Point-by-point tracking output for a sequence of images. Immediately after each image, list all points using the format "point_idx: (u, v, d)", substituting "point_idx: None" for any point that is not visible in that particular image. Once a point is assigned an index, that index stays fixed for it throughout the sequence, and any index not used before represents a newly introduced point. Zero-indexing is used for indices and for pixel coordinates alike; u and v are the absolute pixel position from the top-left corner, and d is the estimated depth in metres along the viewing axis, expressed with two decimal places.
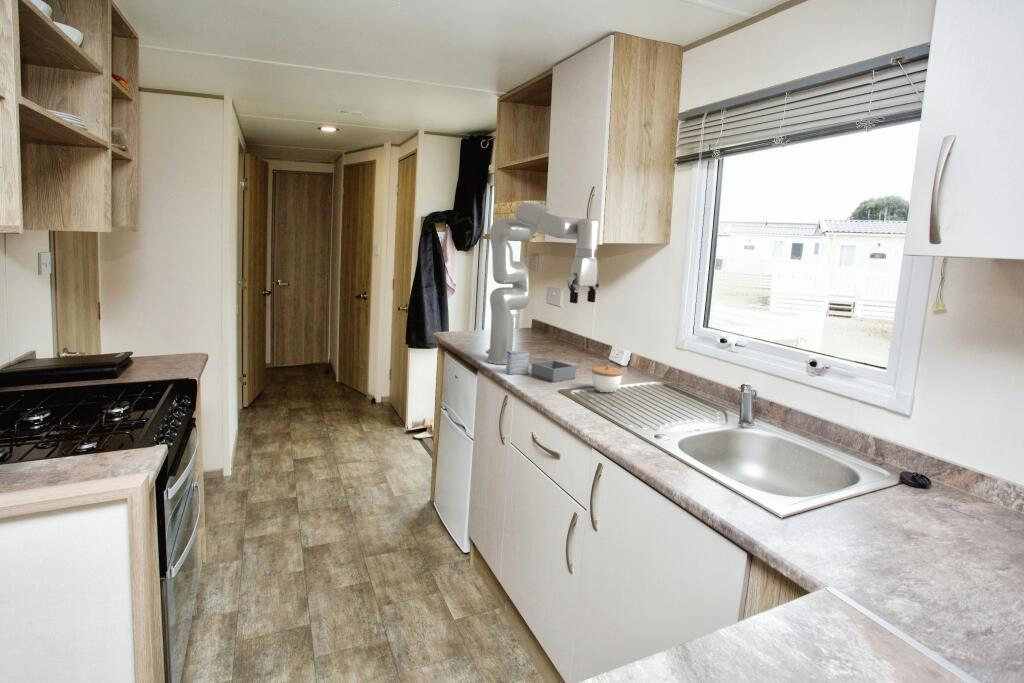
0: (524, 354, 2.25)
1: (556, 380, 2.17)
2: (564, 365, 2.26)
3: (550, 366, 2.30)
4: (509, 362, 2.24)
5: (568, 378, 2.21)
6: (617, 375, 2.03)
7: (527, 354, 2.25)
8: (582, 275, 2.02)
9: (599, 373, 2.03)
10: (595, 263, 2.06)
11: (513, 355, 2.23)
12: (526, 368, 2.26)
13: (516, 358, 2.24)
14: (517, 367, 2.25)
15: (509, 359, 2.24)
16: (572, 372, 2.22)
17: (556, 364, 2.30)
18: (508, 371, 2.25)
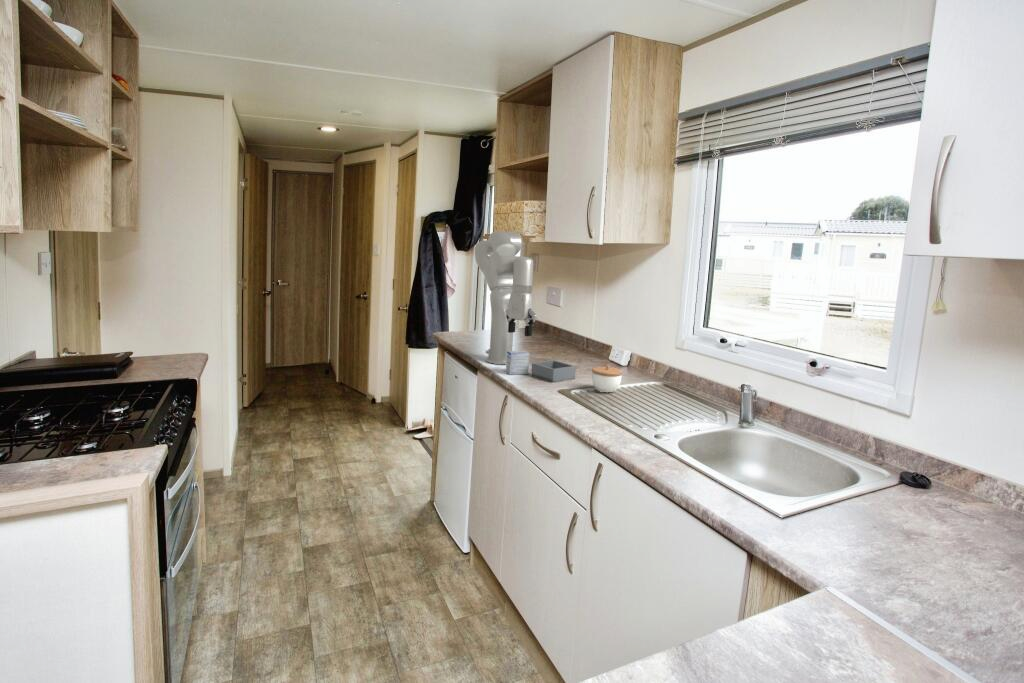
0: (524, 354, 2.25)
1: (556, 380, 2.17)
2: (564, 365, 2.26)
3: (550, 366, 2.30)
4: (509, 362, 2.24)
5: (568, 378, 2.21)
6: (617, 375, 2.03)
7: (527, 354, 2.25)
8: None
9: (599, 373, 2.03)
10: None
11: (513, 355, 2.23)
12: (526, 368, 2.26)
13: (516, 358, 2.24)
14: (517, 367, 2.25)
15: (509, 359, 2.24)
16: (572, 372, 2.22)
17: (556, 364, 2.30)
18: (508, 371, 2.25)
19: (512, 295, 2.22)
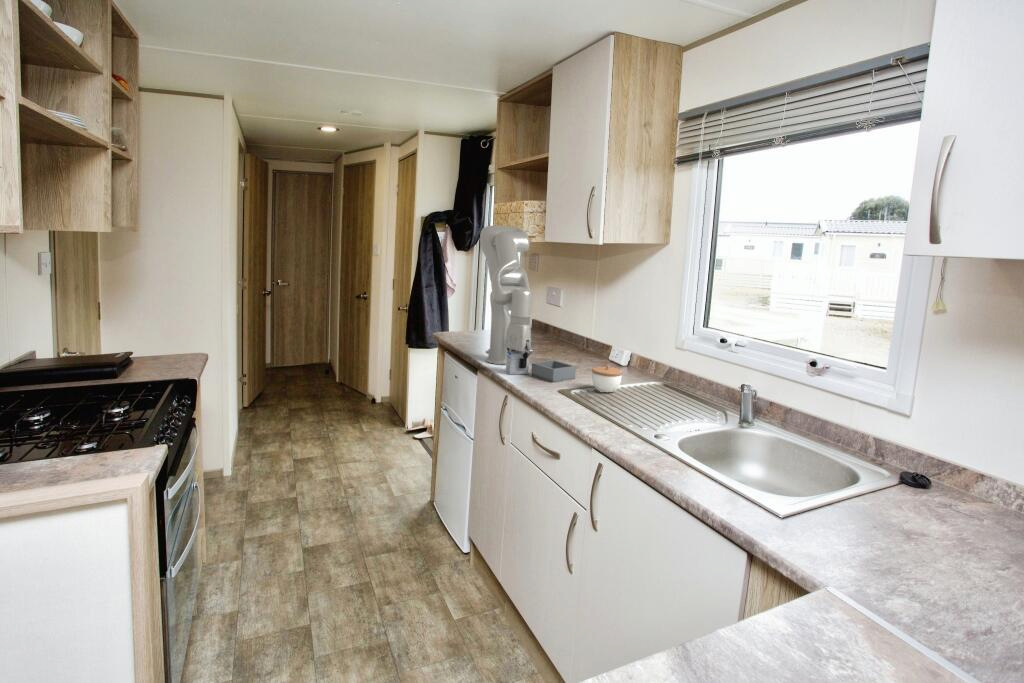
0: None
1: (556, 380, 2.17)
2: (564, 365, 2.26)
3: (550, 366, 2.30)
4: (509, 362, 2.24)
5: (568, 378, 2.21)
6: (617, 375, 2.03)
7: None
8: None
9: (599, 373, 2.03)
10: None
11: (513, 355, 2.23)
12: (526, 368, 2.26)
13: (516, 358, 2.24)
14: (517, 366, 2.25)
15: (509, 359, 2.24)
16: (572, 372, 2.22)
17: (556, 364, 2.30)
18: (508, 371, 2.25)
19: (510, 326, 2.24)
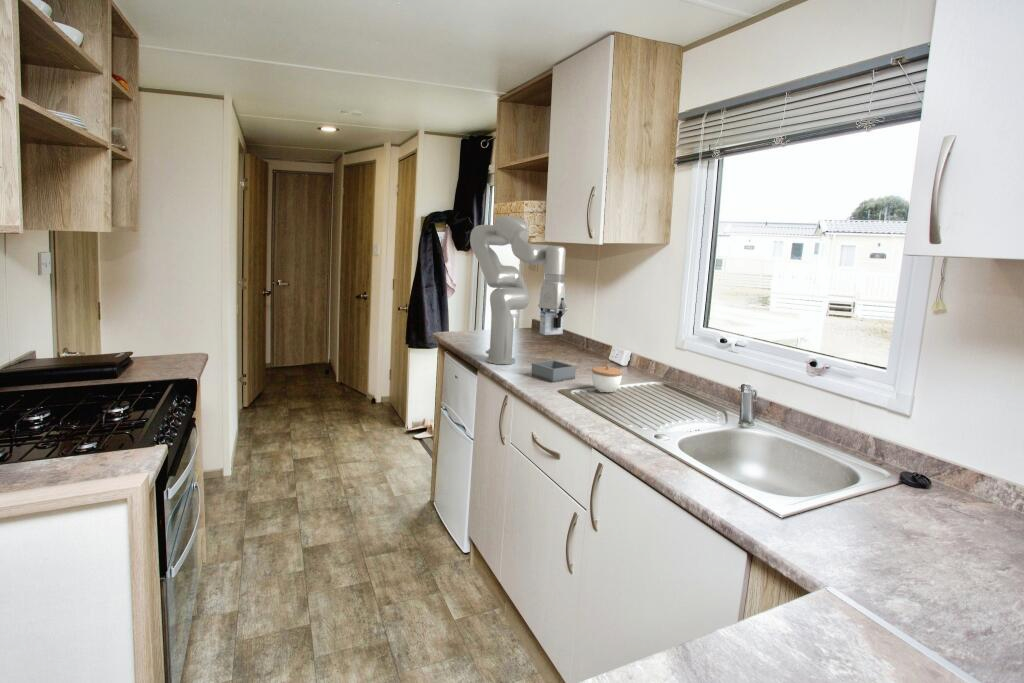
0: None
1: (556, 380, 2.17)
2: (564, 365, 2.26)
3: (550, 366, 2.30)
4: (543, 322, 2.18)
5: (568, 378, 2.21)
6: (617, 375, 2.03)
7: None
8: None
9: (599, 373, 2.03)
10: None
11: (547, 314, 2.17)
12: (560, 328, 2.20)
13: (551, 317, 2.18)
14: (552, 326, 2.19)
15: (543, 319, 2.18)
16: (572, 372, 2.22)
17: (556, 364, 2.30)
18: (542, 331, 2.19)
19: (544, 284, 2.19)
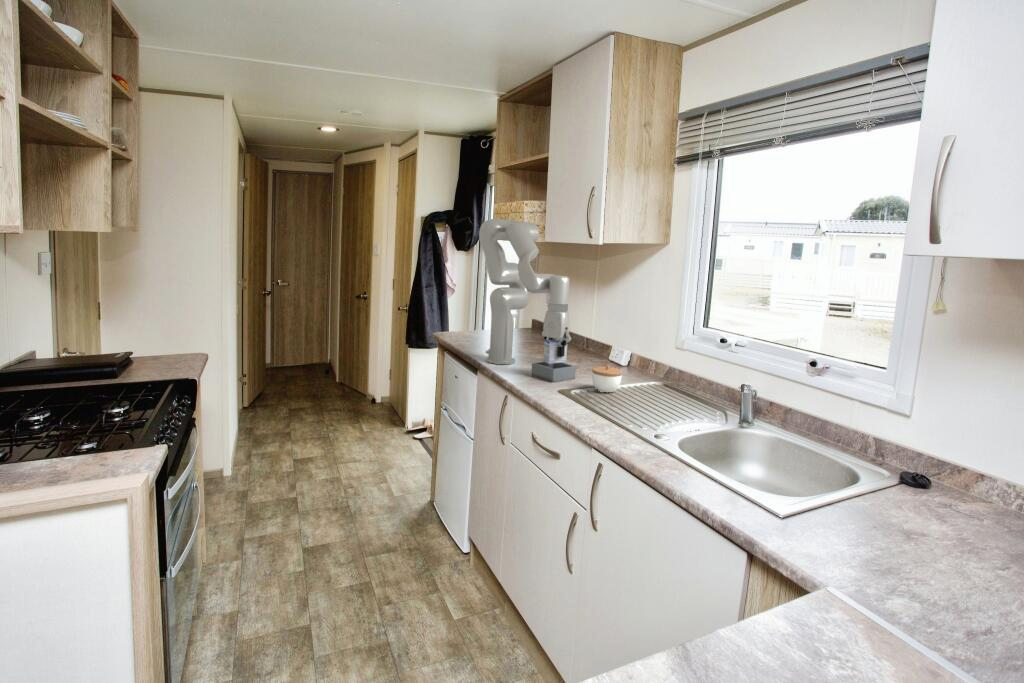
0: None
1: (556, 380, 2.17)
2: (564, 365, 2.26)
3: (550, 366, 2.30)
4: (548, 351, 2.19)
5: (568, 378, 2.21)
6: (617, 375, 2.03)
7: None
8: None
9: (599, 373, 2.03)
10: None
11: (551, 343, 2.18)
12: (564, 356, 2.22)
13: (555, 346, 2.19)
14: (556, 355, 2.20)
15: (547, 348, 2.19)
16: (572, 372, 2.22)
17: (556, 364, 2.30)
18: (546, 360, 2.21)
19: (548, 313, 2.20)
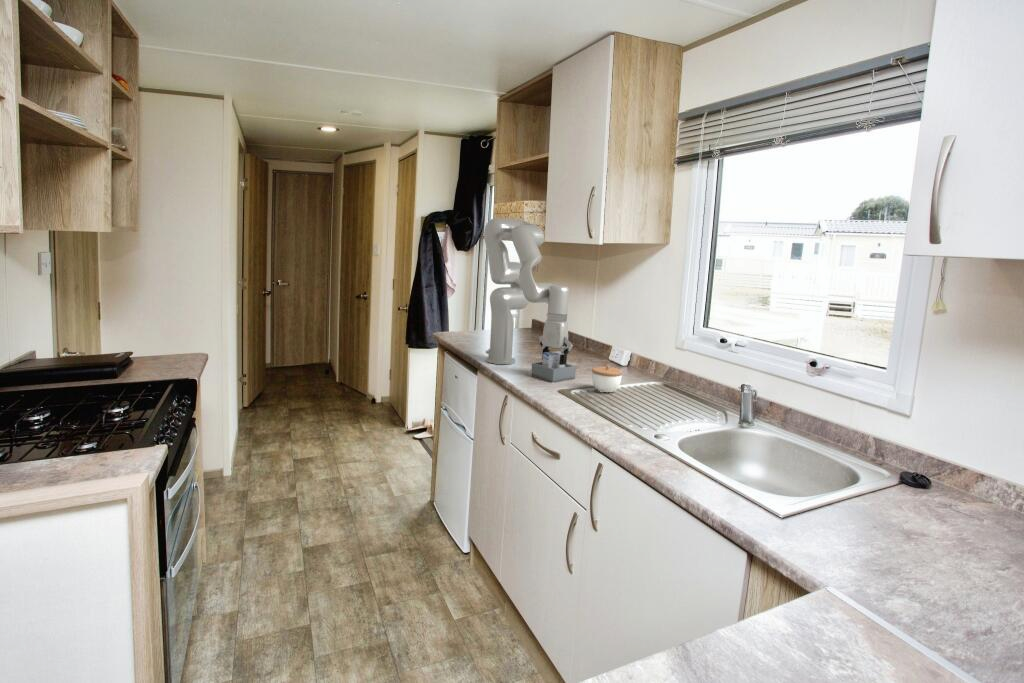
0: None
1: (556, 380, 2.17)
2: None
3: None
4: (547, 363, 2.20)
5: (568, 378, 2.21)
6: (617, 375, 2.03)
7: None
8: None
9: (599, 373, 2.03)
10: None
11: (551, 356, 2.19)
12: None
13: (554, 359, 2.20)
14: (554, 368, 2.21)
15: (547, 360, 2.20)
16: (572, 372, 2.22)
17: None
18: None
19: (547, 323, 2.21)
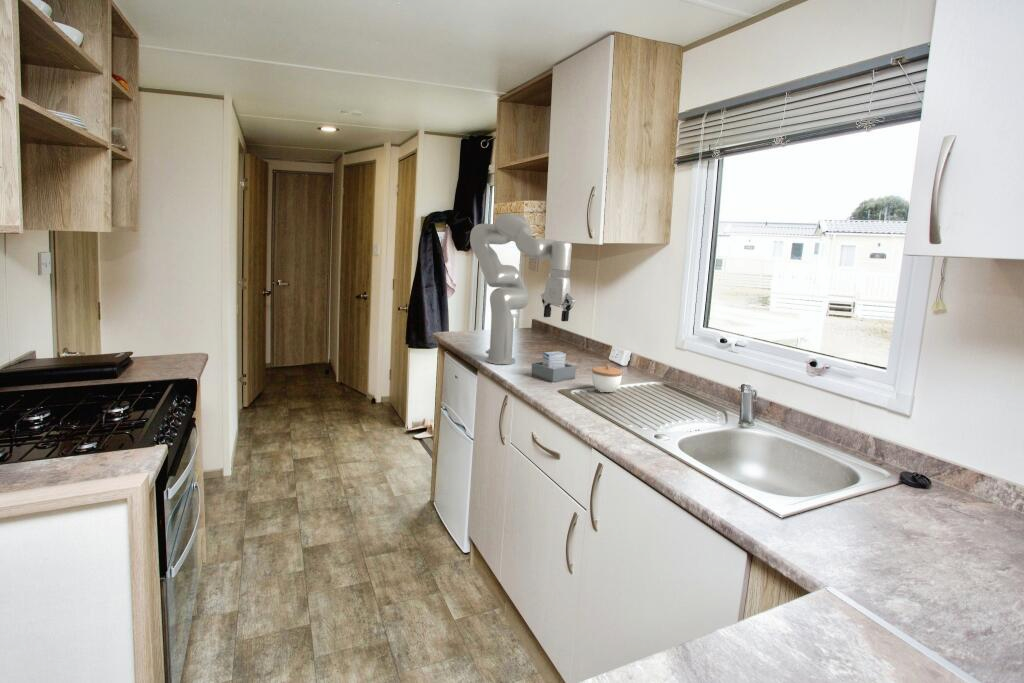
0: (561, 355, 2.22)
1: (556, 380, 2.17)
2: None
3: None
4: (547, 363, 2.20)
5: (568, 378, 2.21)
6: (617, 375, 2.03)
7: (564, 355, 2.22)
8: None
9: (599, 373, 2.03)
10: None
11: (551, 356, 2.19)
12: None
13: (554, 359, 2.20)
14: (554, 368, 2.21)
15: (547, 360, 2.20)
16: (572, 372, 2.22)
17: None
18: None
19: (549, 279, 2.19)
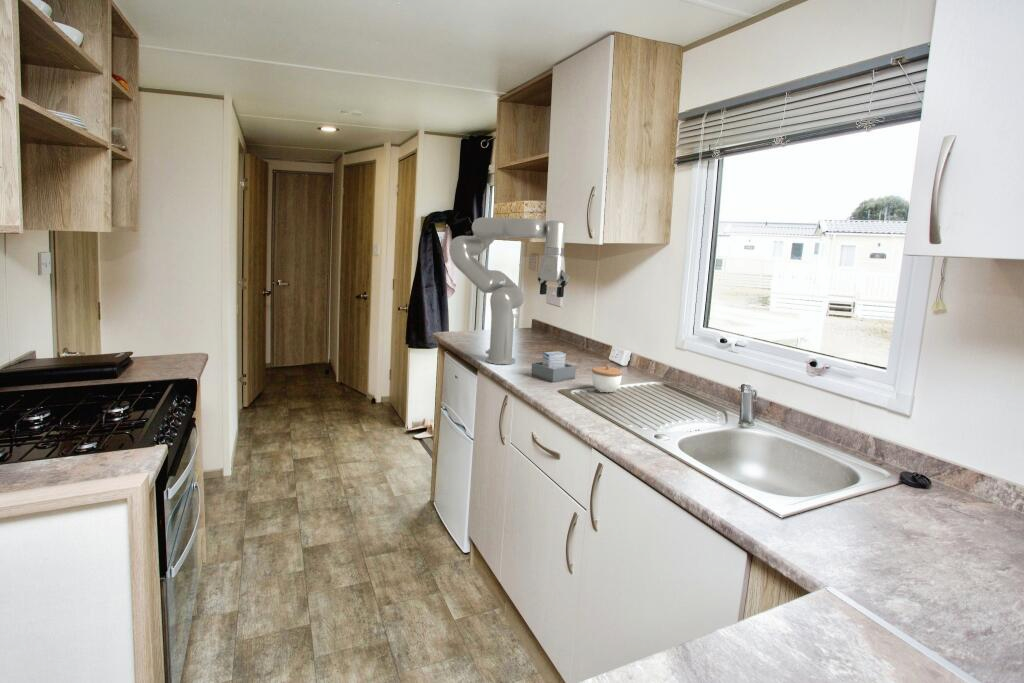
0: (561, 355, 2.22)
1: (556, 380, 2.17)
2: None
3: None
4: (547, 363, 2.20)
5: (568, 378, 2.21)
6: (617, 375, 2.03)
7: (564, 355, 2.22)
8: None
9: (599, 373, 2.03)
10: None
11: (551, 356, 2.19)
12: None
13: (554, 359, 2.20)
14: (554, 368, 2.21)
15: (547, 360, 2.20)
16: (572, 372, 2.22)
17: None
18: None
19: (544, 257, 2.29)
